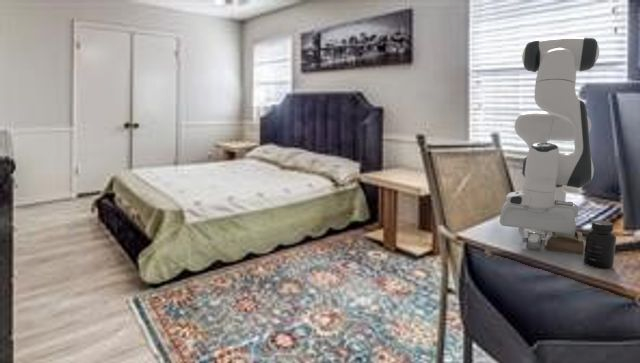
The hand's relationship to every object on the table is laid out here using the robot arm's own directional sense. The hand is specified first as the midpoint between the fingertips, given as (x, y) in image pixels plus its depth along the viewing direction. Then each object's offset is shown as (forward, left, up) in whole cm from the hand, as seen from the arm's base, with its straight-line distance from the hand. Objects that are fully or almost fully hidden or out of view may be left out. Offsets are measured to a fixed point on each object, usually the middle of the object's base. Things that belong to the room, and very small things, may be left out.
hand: (533, 243), depth 132 cm
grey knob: (0, 0, -2) cm, 2 cm away
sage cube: (-6, +8, +1) cm, 10 cm away
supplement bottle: (+6, +16, -2) cm, 17 cm away
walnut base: (-6, +8, -2) cm, 10 cm away
